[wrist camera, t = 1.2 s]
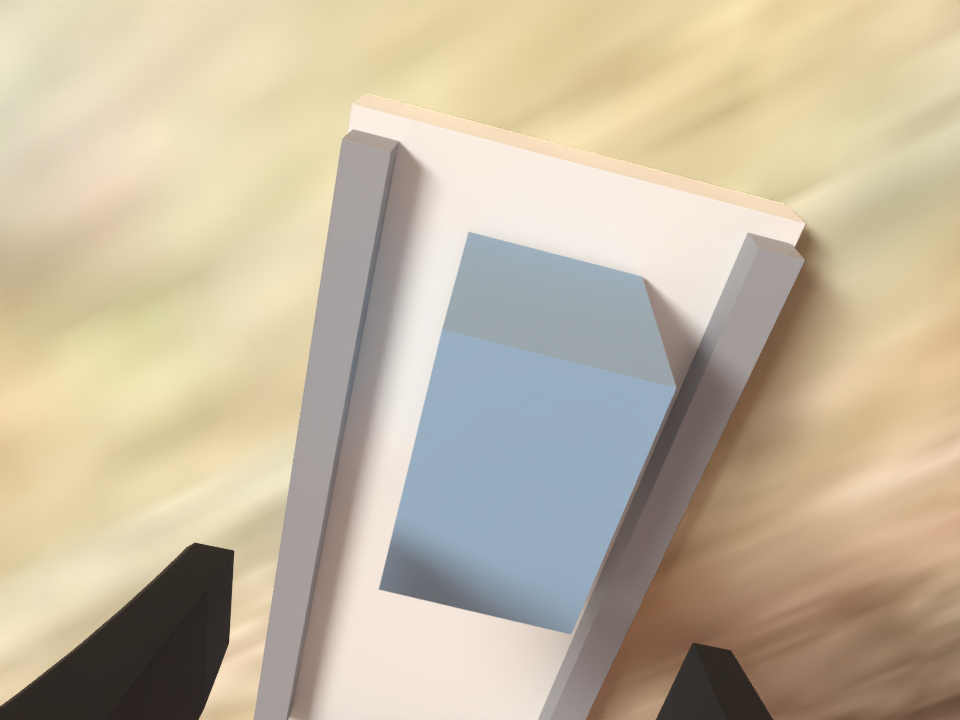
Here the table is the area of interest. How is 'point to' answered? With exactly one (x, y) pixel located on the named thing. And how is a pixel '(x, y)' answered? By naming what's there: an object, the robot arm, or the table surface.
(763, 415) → the table surface
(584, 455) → the block
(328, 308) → the rail board
